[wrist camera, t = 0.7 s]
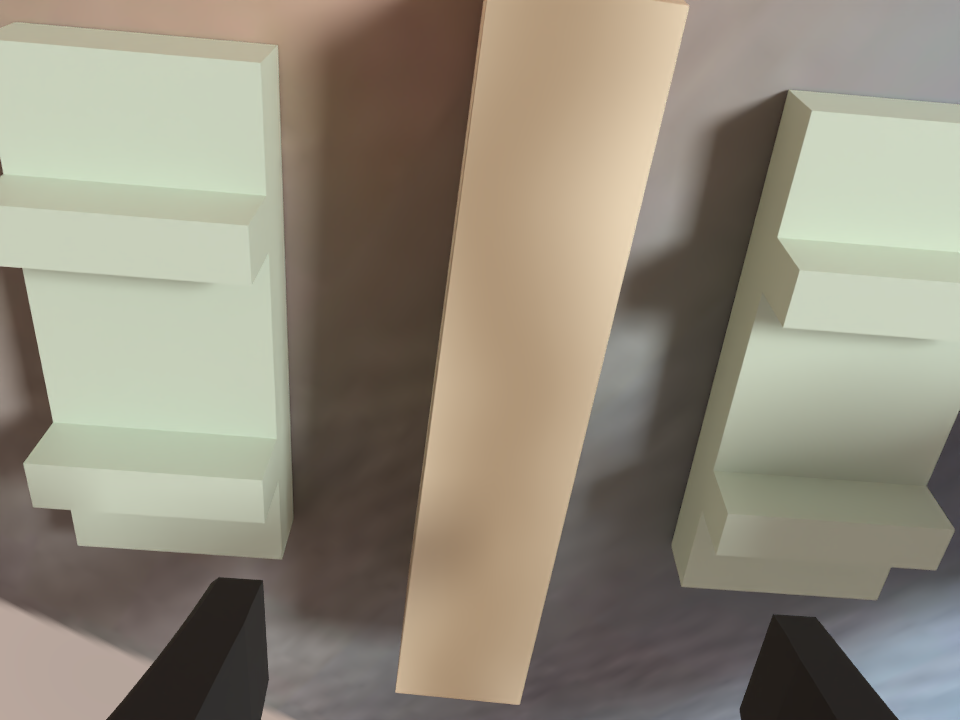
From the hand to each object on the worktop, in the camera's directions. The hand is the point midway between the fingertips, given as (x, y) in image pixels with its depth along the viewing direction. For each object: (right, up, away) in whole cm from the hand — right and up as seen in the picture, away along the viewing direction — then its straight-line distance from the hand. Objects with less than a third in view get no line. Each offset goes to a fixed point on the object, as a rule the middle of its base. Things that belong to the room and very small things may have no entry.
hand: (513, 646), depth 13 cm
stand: (0, +5, +8) cm, 9 cm away
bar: (0, +5, +8) cm, 9 cm away
